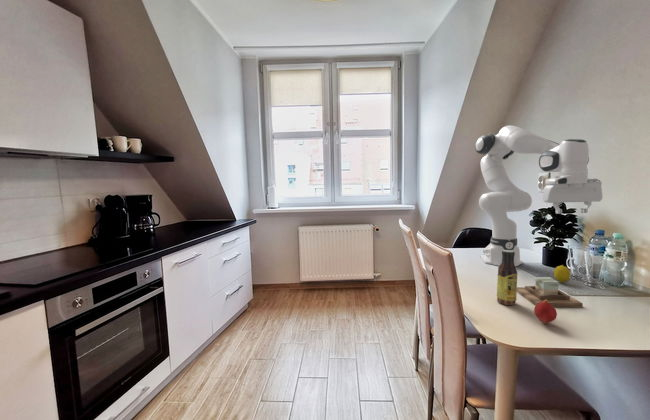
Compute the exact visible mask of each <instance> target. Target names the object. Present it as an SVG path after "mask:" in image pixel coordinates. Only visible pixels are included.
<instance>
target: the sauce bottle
mask: <svg viewBox="0 0 650 420" xmlns="http://www.w3.org/2000/svg"><path fill="white" fill-rule="evenodd" d="M514 255H515V252H514V251H512V250H502V263H501V264H500V266H498V267H497V280H496V281H497V282H496V285H497V286H496V301H497V302H498V303H499V304H500V305H501V304H502V305H504V306H505V305H506V306H514V305H516V301H517V294H518V293H517V287H518V271H517V268H516V266H515V265H514Z"/></svg>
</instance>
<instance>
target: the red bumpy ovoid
mask: <svg viewBox="0 0 650 420" xmlns="http://www.w3.org/2000/svg"><path fill="white" fill-rule="evenodd" d="M533 313H534V315H535V318H537V319H538V320H539V321H540V322H541V323H542V324H545V325H546V324H547V325H548V324H549V323H551V322H553V321H555V320H556V319H557V316H558V312H557V310H556V307H553V306H552V305H551V304H550V303H548V300H544V301H542V302H540V303H538V304H537V305H536V306H535V305H534V308H533Z"/></svg>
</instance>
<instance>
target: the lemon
mask: <svg viewBox="0 0 650 420" xmlns="http://www.w3.org/2000/svg"><path fill="white" fill-rule="evenodd" d="M553 277H554V280H556V281H558V283H560V284H563V283H565V282H568V281H569V280H570V278H571V271H570V269H569V268H568V267H567V266H564V264H562V265H558V266H556V267H555V269H554V270H553Z"/></svg>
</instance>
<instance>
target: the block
mask: <svg viewBox="0 0 650 420" xmlns="http://www.w3.org/2000/svg"><path fill="white" fill-rule="evenodd" d="M535 286H536V288H535V291H537V292H538V293H540V294H542V295H558V290H559V281H558V280H556V279H555V278H552V277H548V276H547V277H546V276H543V277H542V276H541V277H535Z"/></svg>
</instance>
